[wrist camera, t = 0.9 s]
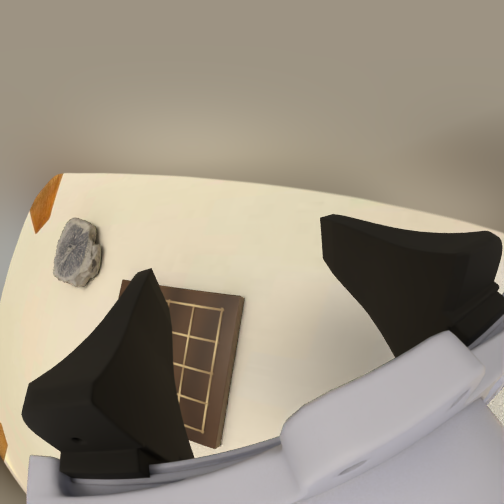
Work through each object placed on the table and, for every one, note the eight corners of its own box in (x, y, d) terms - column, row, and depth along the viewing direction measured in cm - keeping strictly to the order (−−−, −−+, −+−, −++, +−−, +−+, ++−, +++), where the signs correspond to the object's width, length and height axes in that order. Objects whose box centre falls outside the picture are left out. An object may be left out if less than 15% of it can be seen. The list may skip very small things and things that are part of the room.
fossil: (100, 245, 31) (50, 295, 29) (117, 262, 35) (69, 307, 33) (83, 205, 37) (41, 246, 35) (97, 220, 41) (57, 260, 39)
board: (244, 298, 26) (239, 295, 25) (220, 445, 22) (214, 449, 21) (128, 281, 32) (121, 279, 30) (110, 399, 27) (102, 400, 26)
